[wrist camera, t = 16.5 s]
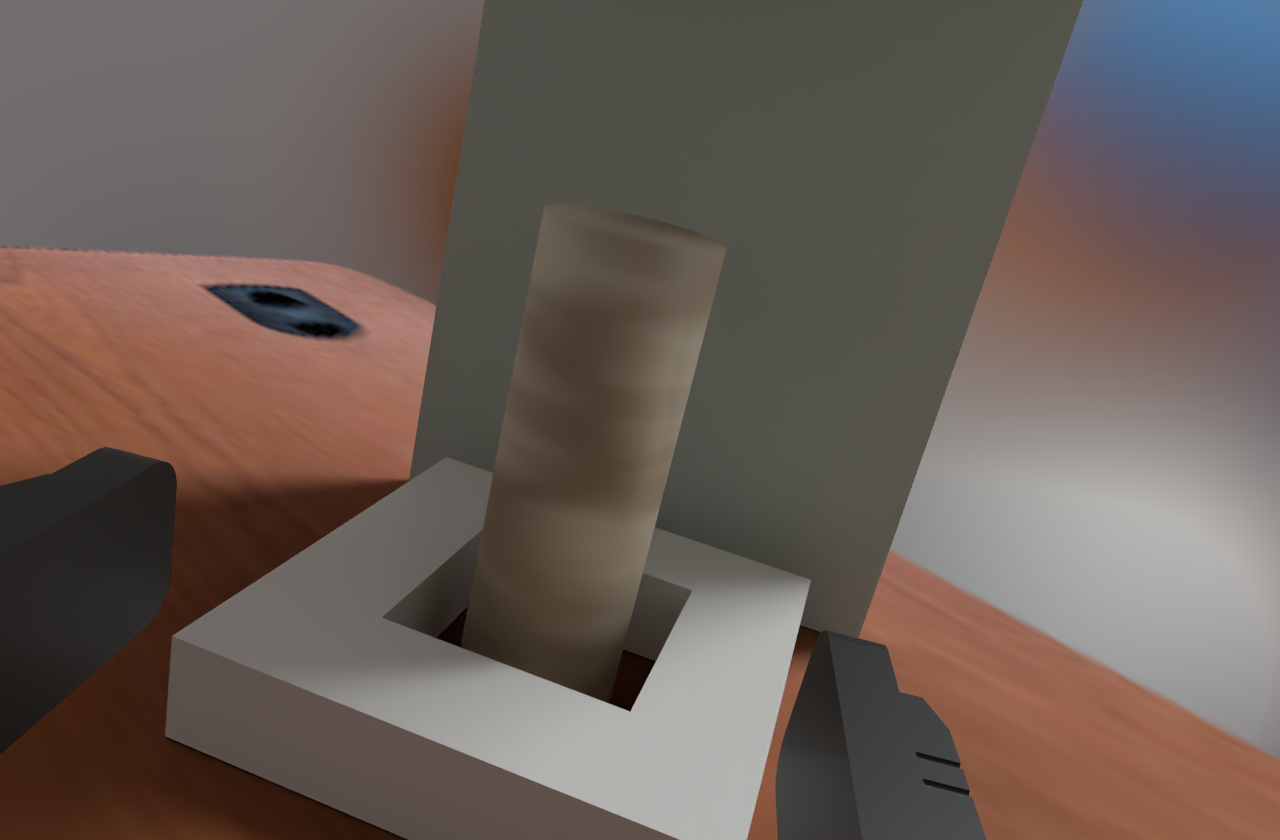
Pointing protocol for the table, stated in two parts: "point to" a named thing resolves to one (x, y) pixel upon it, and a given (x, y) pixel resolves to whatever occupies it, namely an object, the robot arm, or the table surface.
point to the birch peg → (588, 440)
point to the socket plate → (487, 687)
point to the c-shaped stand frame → (756, 238)
